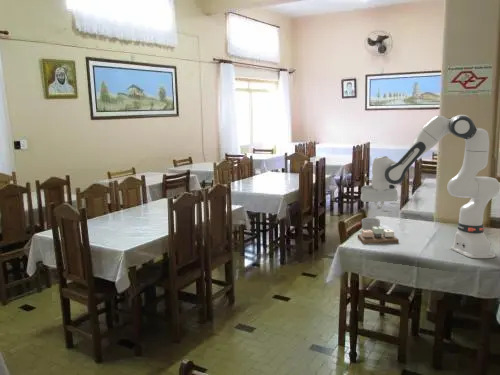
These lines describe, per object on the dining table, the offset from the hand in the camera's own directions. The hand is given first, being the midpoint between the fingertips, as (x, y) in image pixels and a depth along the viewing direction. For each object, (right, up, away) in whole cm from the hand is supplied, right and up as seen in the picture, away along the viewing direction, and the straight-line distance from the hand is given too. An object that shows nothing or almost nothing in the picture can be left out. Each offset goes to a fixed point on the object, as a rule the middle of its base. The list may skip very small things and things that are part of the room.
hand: (378, 209), depth 249 cm
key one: (+6, -17, +3) cm, 19 cm away
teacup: (+1, -15, +21) cm, 26 cm away
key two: (0, -15, +3) cm, 16 cm away
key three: (-6, -17, +3) cm, 18 cm away
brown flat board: (0, -18, +3) cm, 18 cm away
